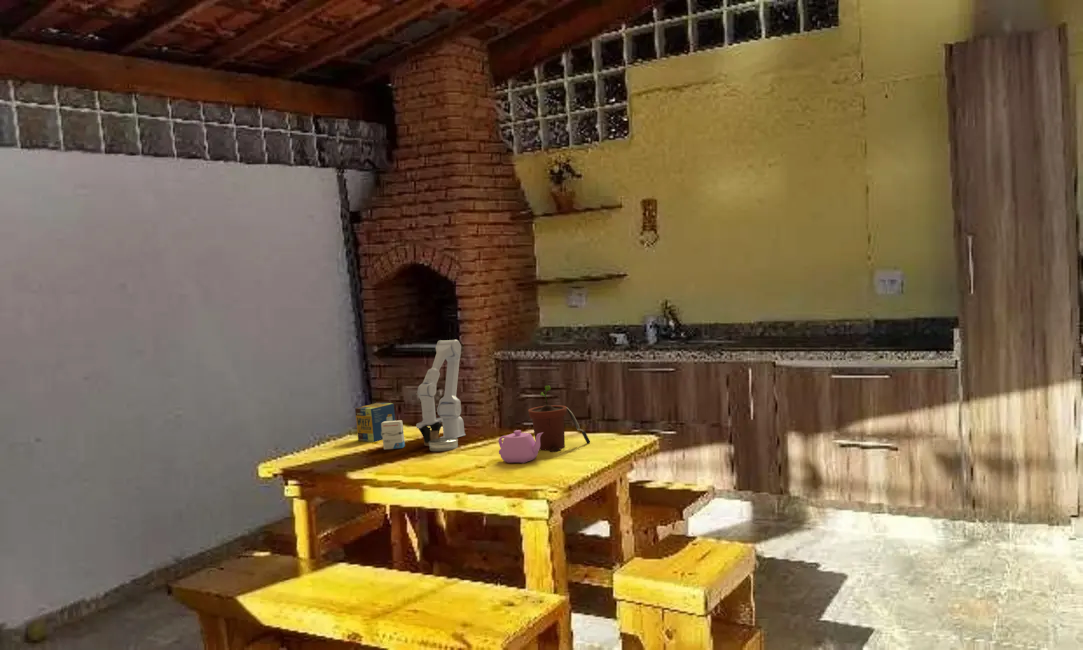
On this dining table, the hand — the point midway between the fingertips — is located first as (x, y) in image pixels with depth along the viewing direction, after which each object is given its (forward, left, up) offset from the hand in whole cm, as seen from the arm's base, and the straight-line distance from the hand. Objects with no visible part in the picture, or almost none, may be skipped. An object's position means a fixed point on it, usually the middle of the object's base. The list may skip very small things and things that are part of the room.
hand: (431, 441), depth 387 cm
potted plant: (-11, +60, -2) cm, 61 cm away
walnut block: (0, 0, -2) cm, 2 cm away
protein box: (-4, -39, -2) cm, 39 cm away
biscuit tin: (+4, +11, -2) cm, 12 cm away
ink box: (+10, -13, -2) cm, 16 cm away
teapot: (+13, +61, -2) cm, 62 cm away
